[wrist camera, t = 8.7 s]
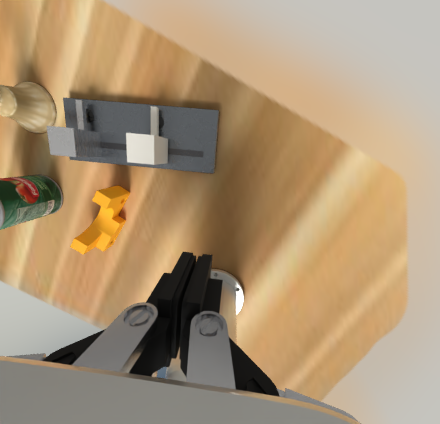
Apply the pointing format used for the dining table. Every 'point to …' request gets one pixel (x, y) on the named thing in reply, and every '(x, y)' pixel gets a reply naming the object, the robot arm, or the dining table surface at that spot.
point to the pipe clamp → (103, 221)
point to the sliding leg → (148, 144)
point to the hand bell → (28, 106)
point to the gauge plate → (139, 124)
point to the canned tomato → (27, 199)
